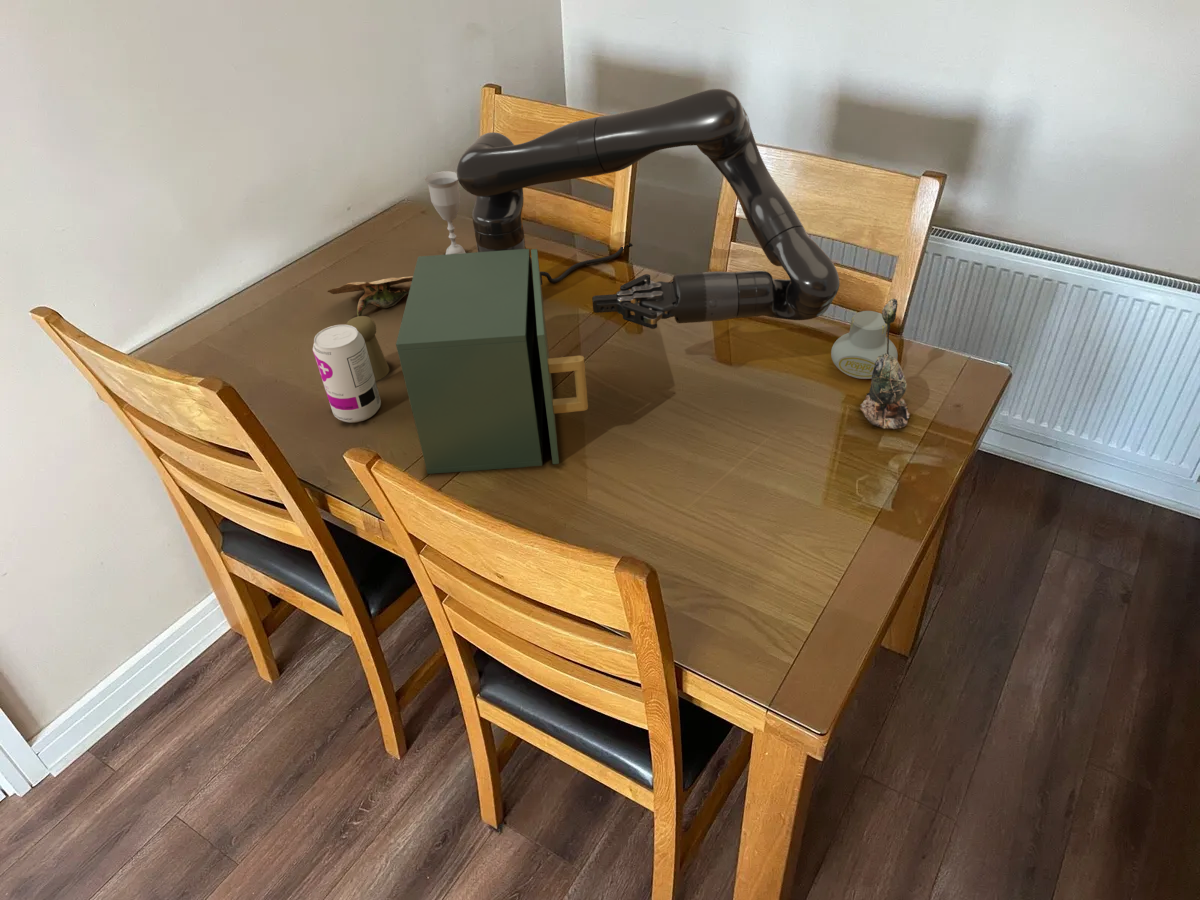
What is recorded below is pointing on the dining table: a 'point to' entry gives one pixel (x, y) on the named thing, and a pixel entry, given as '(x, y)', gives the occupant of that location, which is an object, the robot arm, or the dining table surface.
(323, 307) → the dining table surface
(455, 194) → the chalice
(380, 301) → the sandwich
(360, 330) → the pawn
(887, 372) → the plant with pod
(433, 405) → the cupboard
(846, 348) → the air freshener
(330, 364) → the supplement can
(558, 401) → the door
